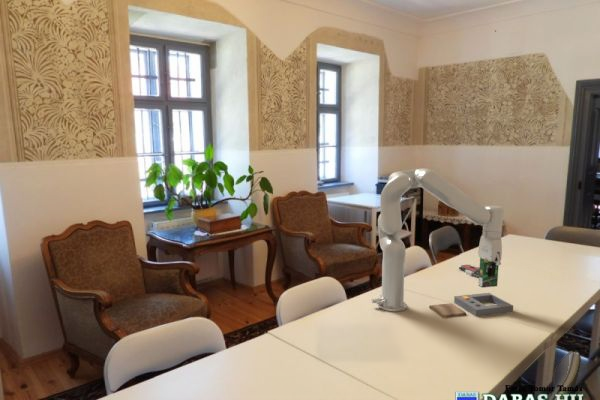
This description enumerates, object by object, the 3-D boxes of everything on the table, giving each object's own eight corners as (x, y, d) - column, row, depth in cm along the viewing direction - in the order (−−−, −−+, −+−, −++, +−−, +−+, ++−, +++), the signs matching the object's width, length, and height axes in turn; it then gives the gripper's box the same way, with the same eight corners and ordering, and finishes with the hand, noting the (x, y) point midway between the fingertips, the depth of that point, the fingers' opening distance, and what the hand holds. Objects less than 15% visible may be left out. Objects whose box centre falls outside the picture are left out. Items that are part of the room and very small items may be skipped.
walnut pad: (442, 317, 177) (442, 315, 177) (429, 307, 187) (429, 305, 187) (466, 315, 179) (466, 312, 179) (451, 305, 190) (451, 303, 190)
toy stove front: (475, 316, 177) (476, 308, 177) (454, 302, 193) (454, 295, 192) (513, 312, 181) (513, 304, 181) (488, 298, 197) (489, 291, 196)
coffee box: (481, 288, 184) (484, 258, 182) (477, 285, 187) (479, 257, 185) (497, 286, 186) (500, 257, 184) (493, 284, 189) (495, 256, 187)
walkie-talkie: (455, 270, 241) (481, 281, 222) (455, 263, 240) (482, 273, 222) (467, 268, 244) (494, 279, 225) (468, 261, 243) (495, 271, 225)
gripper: (472, 230, 190) (469, 269, 193) (497, 238, 174) (493, 281, 177) (487, 230, 192) (483, 269, 194) (512, 238, 176) (508, 280, 179)
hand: (488, 274), depth 186 cm, fingers closed on coffee box, 3 cm apart
